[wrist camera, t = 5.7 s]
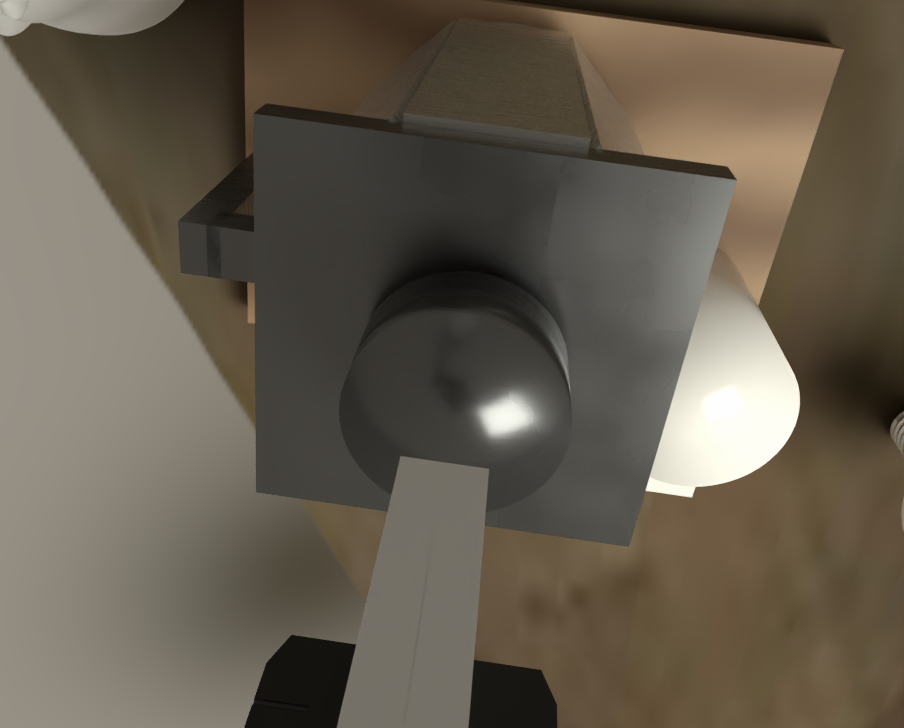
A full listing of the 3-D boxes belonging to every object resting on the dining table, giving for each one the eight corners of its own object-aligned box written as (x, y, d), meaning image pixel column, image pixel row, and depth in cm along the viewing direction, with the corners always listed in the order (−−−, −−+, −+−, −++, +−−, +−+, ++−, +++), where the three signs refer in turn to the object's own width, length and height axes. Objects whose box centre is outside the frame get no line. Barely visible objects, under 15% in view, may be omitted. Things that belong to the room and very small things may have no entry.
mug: (609, 226, 37) (629, 315, 29) (765, 247, 37) (827, 343, 29) (573, 388, 41) (582, 503, 33) (713, 408, 41) (754, 529, 33)
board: (254, -35, 34) (243, -32, 33) (831, 43, 34) (843, 49, 32) (256, 309, 42) (248, 322, 41) (723, 375, 42) (729, 391, 40)
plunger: (396, 52, 31) (259, 209, 16) (618, 82, 31) (701, 271, 15) (381, 257, 35) (261, 541, 20) (576, 285, 35) (608, 592, 20)
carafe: (302, -7, 33) (96, 82, 18) (648, 39, 33) (749, 171, 17) (297, 243, 39) (136, 480, 23) (594, 284, 38) (634, 553, 23)
